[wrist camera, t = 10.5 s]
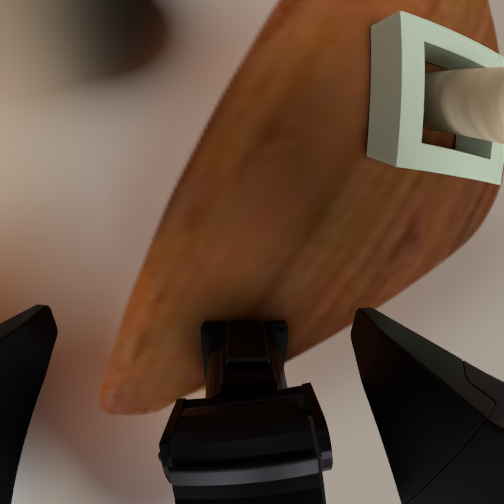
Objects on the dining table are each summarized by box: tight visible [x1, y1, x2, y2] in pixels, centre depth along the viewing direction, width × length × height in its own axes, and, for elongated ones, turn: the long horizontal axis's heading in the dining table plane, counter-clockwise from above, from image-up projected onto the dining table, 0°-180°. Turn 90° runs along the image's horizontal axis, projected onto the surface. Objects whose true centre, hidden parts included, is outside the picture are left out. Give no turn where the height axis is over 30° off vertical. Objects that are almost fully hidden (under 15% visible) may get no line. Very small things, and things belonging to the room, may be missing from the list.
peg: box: [423, 67, 504, 144], centre depth 13 cm, size 4×4×9 cm
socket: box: [366, 11, 504, 185], centre depth 15 cm, size 9×9×4 cm
